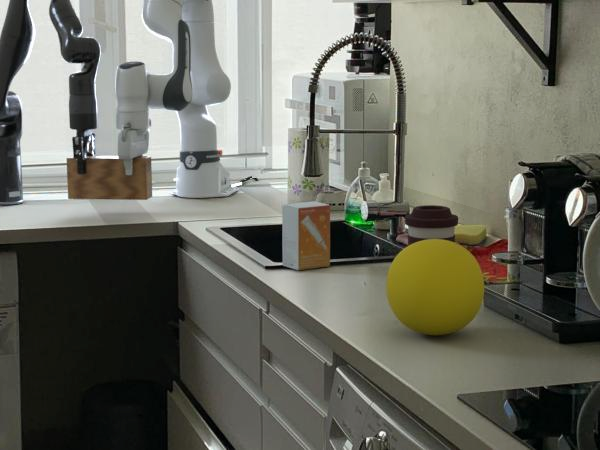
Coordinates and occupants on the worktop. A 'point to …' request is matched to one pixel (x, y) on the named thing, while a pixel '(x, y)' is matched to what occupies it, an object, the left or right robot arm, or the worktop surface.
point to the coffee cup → (431, 223)
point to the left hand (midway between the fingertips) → (85, 172)
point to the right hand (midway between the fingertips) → (133, 173)
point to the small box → (306, 235)
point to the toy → (435, 287)
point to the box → (110, 179)
